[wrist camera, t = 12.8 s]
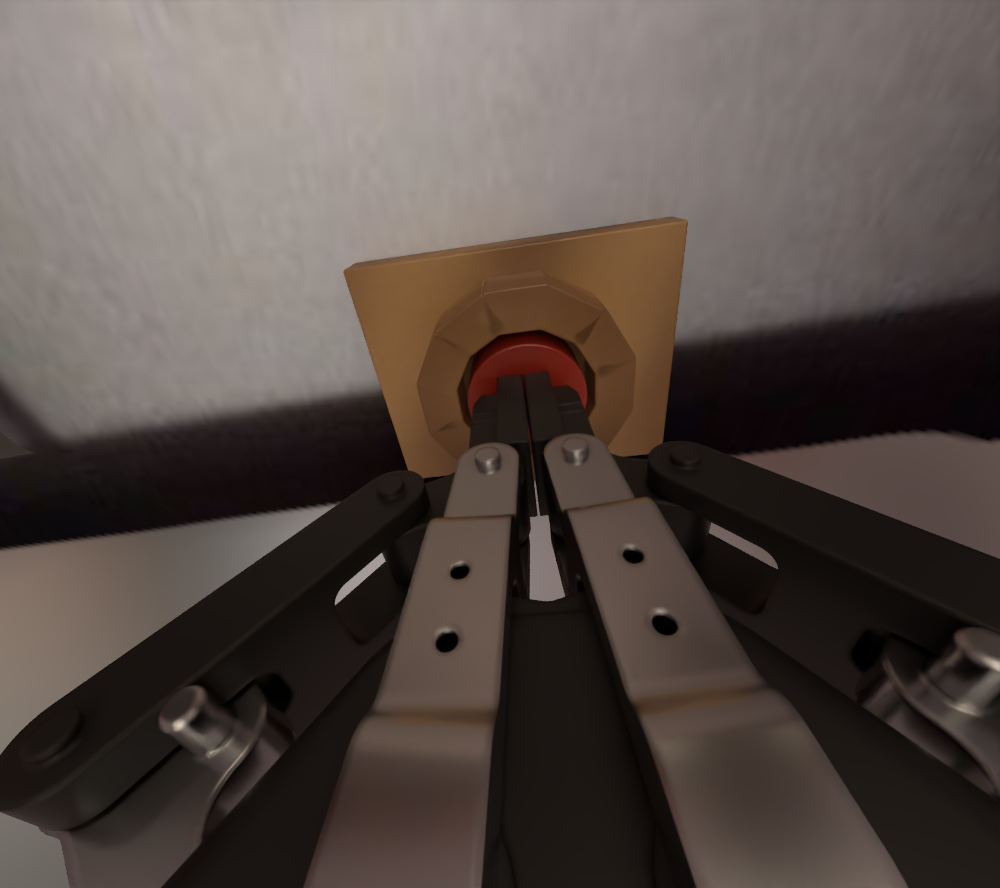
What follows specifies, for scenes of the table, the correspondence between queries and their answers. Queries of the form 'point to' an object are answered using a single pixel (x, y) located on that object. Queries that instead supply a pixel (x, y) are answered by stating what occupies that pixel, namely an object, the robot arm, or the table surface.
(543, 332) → the button
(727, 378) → the table surface
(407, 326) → the switch block
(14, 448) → the block letters
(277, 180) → the table surface
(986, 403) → the table surface
